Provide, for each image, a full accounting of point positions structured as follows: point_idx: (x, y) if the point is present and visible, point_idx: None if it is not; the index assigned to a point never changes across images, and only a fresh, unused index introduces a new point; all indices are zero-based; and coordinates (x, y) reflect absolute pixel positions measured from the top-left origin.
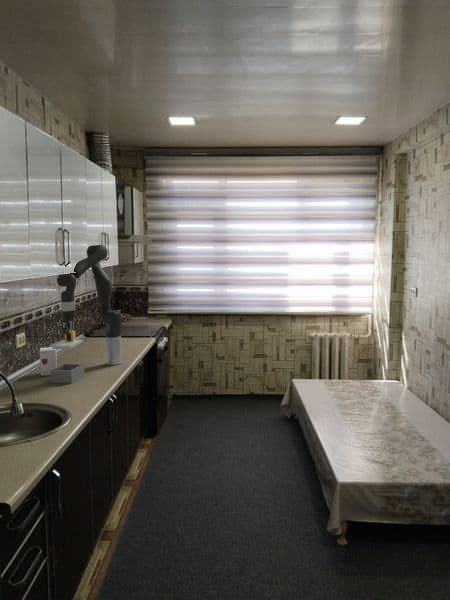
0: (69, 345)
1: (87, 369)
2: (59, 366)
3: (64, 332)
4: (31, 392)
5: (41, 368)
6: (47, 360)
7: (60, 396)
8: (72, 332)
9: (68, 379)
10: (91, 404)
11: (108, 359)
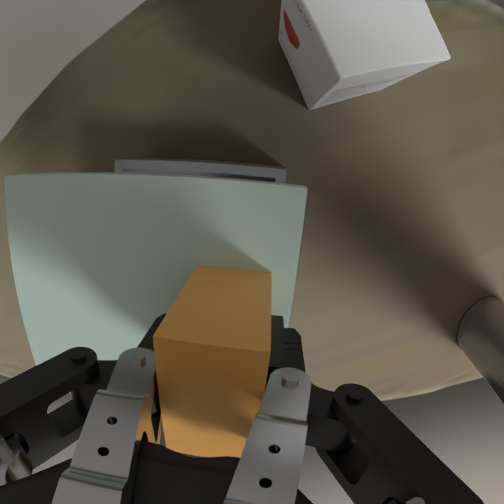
0: (38, 364)
1: (410, 243)
2: (210, 168)
3: (63, 363)
4: (25, 153)
5: (280, 29)
6: (297, 45)
7: (13, 279)
8: (168, 438)
9: None
10: (5, 369)
11: (478, 323)
